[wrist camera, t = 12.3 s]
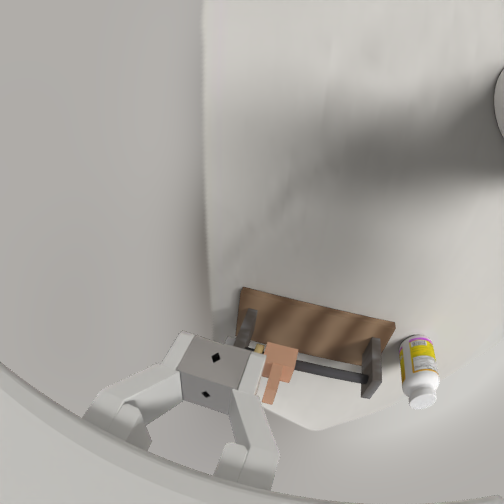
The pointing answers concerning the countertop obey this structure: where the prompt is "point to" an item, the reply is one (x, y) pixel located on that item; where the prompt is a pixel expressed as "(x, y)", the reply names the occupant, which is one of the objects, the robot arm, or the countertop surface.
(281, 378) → the peach stepped block
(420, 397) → the supplement bottle
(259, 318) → the towel rod holder
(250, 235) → the countertop surface
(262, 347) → the dark gray rod
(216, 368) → the robot arm
